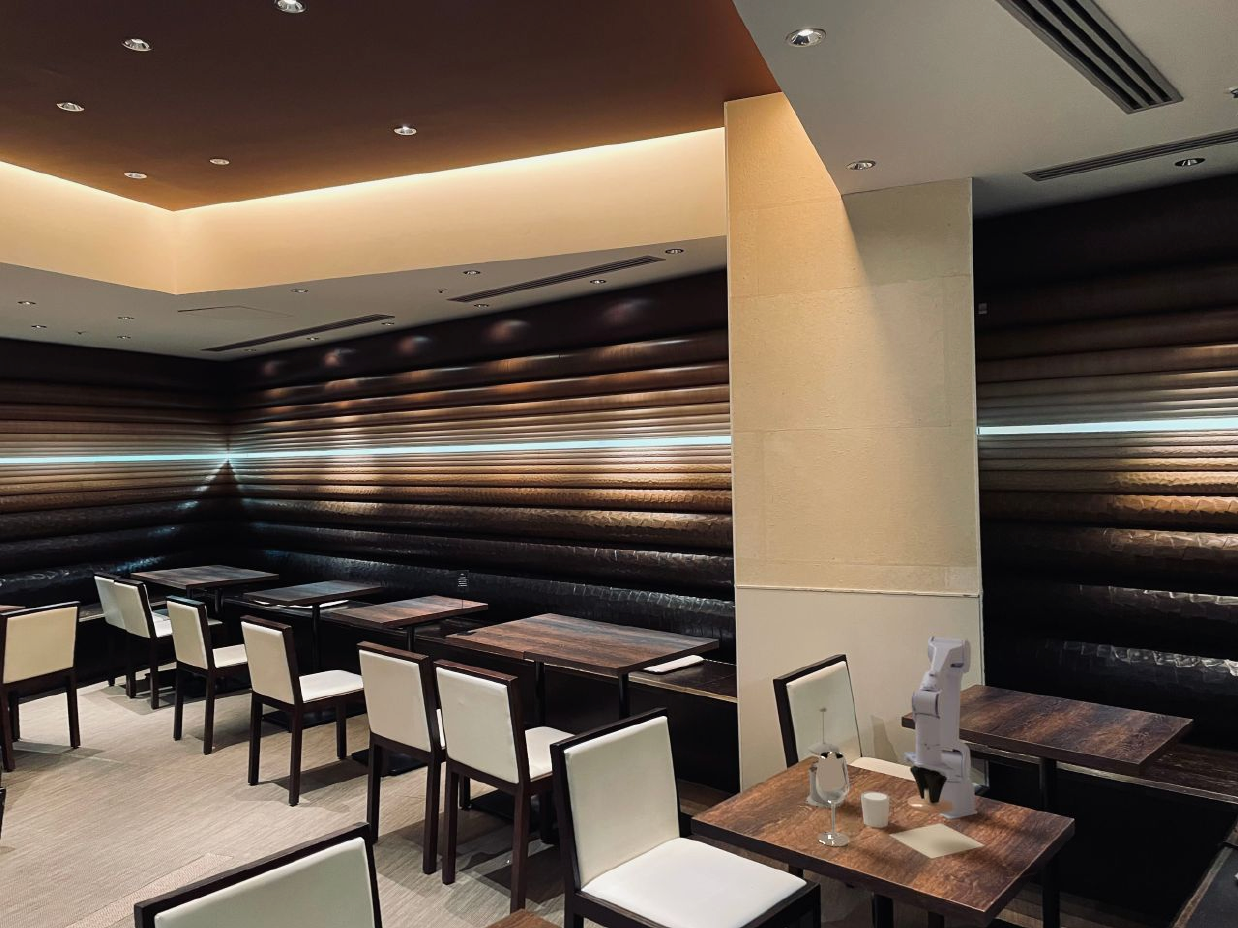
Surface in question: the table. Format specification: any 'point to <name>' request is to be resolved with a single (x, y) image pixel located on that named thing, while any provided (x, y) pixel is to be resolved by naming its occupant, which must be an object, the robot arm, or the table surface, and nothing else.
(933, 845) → the mat
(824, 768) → the wineglass
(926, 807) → the lid
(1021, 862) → the table surface
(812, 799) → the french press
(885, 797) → the white tapered pot
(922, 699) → the robot arm
